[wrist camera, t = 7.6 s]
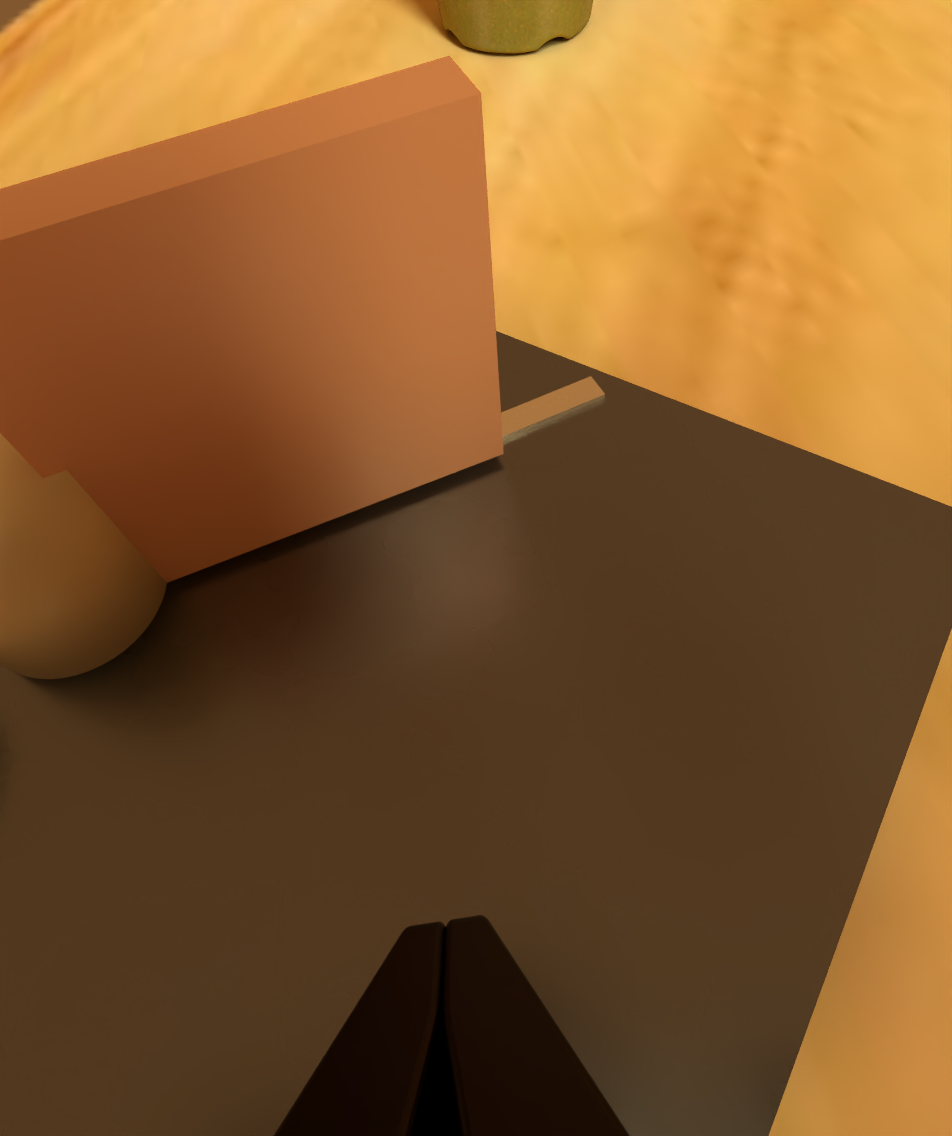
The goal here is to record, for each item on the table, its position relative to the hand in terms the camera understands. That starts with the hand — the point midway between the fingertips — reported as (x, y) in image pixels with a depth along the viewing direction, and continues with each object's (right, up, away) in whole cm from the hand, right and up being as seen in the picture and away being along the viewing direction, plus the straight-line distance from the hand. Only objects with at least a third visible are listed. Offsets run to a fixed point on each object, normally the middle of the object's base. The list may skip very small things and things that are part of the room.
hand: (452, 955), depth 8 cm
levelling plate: (-2, +1, +8) cm, 9 cm away
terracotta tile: (-5, +5, +9) cm, 11 cm away
